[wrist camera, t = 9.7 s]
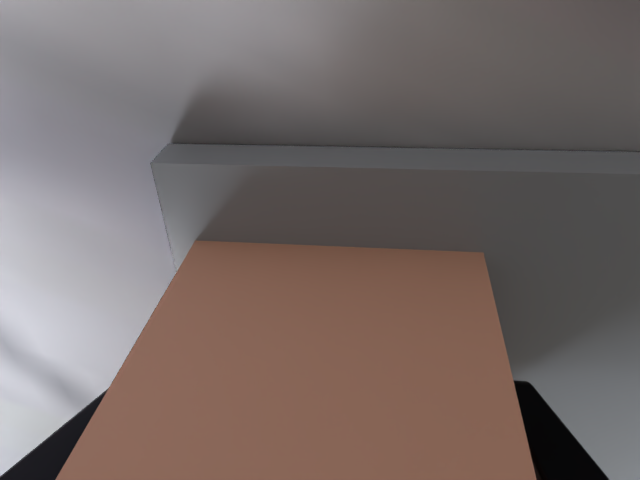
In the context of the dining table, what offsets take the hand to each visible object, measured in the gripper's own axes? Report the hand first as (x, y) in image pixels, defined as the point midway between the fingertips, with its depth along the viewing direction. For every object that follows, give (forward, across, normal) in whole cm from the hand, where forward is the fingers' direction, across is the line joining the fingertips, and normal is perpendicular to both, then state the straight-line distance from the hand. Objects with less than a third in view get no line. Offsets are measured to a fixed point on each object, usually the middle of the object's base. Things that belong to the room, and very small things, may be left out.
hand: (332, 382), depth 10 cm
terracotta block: (+1, 0, 0) cm, 1 cm away
